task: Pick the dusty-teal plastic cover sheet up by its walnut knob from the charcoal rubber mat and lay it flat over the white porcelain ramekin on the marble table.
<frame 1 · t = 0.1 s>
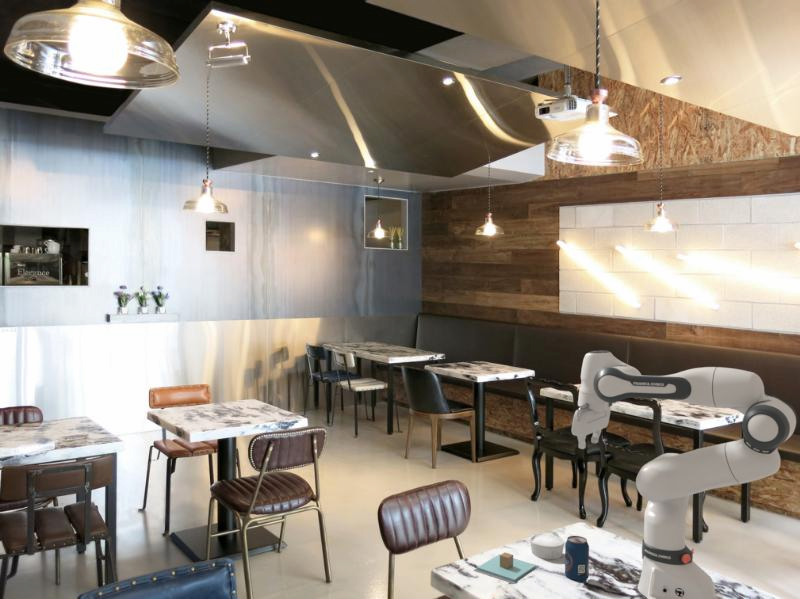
hand: (588, 445, 201), 39 cm above the table, tool pointing down, fingers open, 8 cm apart
soda can: (576, 579, 195), on the table
ramekin: (546, 556, 212), on the table
cover sheet: (506, 568, 200), point 1 cm above the table, touching mat
mat: (506, 570, 200), on the table
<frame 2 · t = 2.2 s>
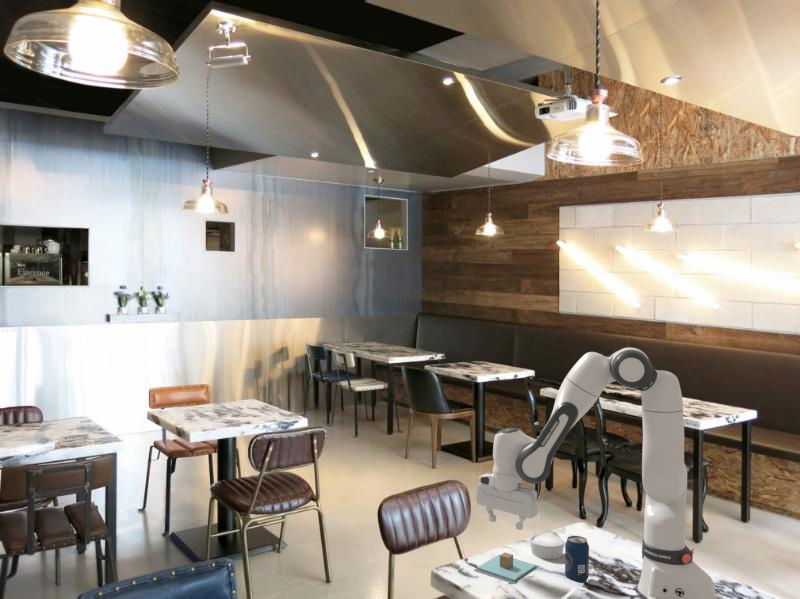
hand: (505, 525, 200), 14 cm above the table, tool pointing down, fingers open, 8 cm apart
nothing on the table moved.
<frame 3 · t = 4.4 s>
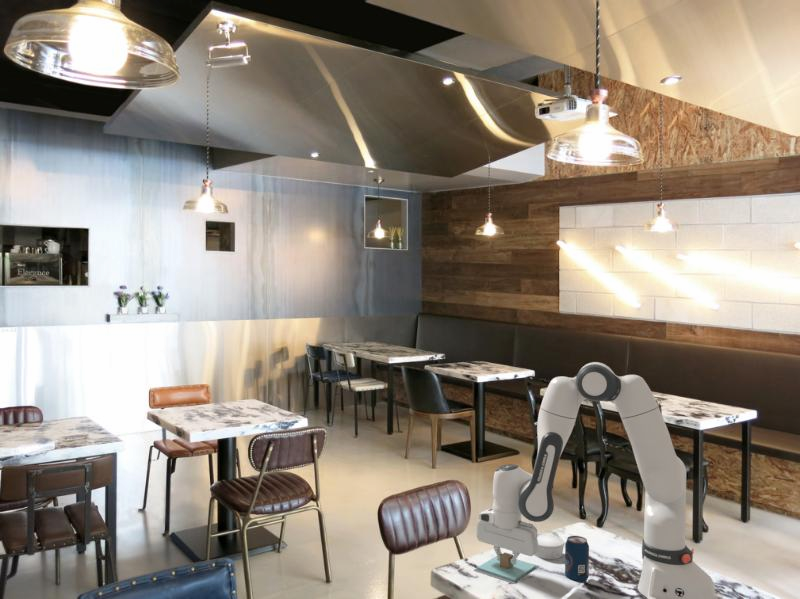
hand: (506, 562, 200), 3 cm above the table, tool pointing down, fingers closed on cover sheet, 3 cm apart
cover sheet: (506, 568, 200), point 1 cm above the table, touching gripper, mat
everything else where it was.
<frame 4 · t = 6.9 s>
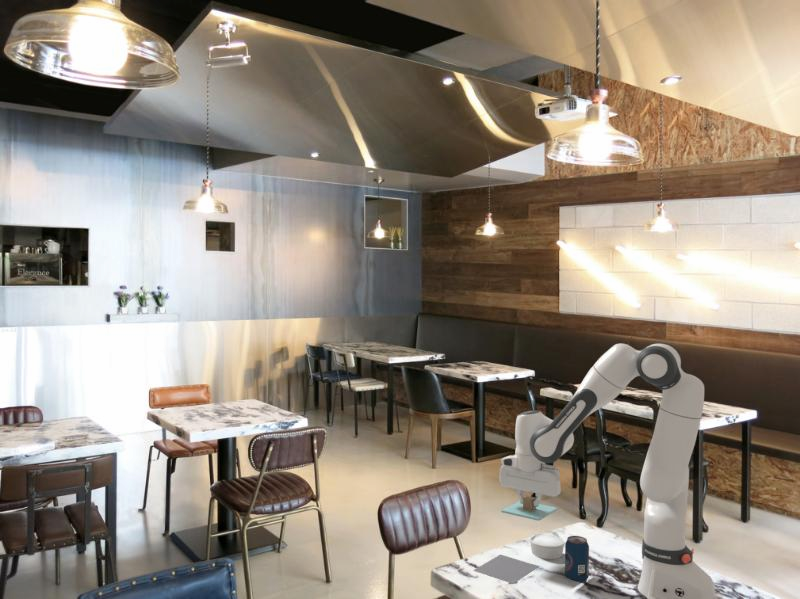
hand: (529, 504, 206), 19 cm above the table, tool pointing down, fingers closed on cover sheet, 3 cm apart
cover sheet: (529, 510, 206), point 17 cm above the table, touching gripper
everything else where it was.
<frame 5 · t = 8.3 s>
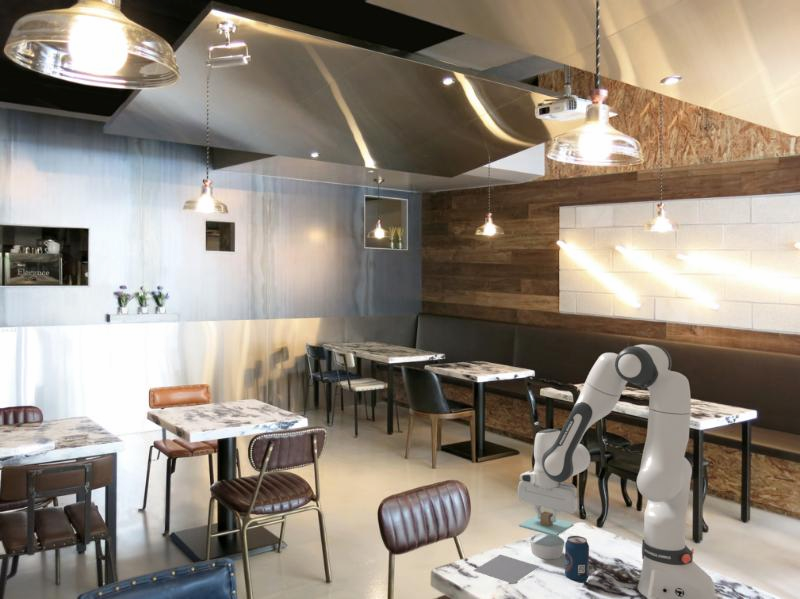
hand: (546, 520, 212), 12 cm above the table, tool pointing down, fingers closed on cover sheet, 3 cm apart
cover sheet: (546, 525, 212), point 10 cm above the table, touching gripper
everything else where it was.
when the fingers open (8 cm above the table, at t = 9.5 s): cover sheet drops 1 cm, resting on ramekin.
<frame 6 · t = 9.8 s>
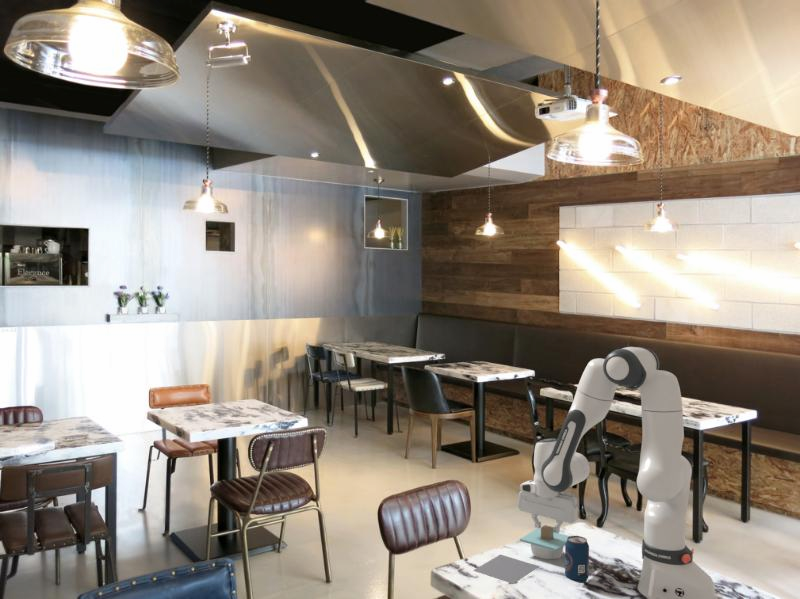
hand: (547, 529, 212), 8 cm above the table, tool pointing down, fingers open, 5 cm apart
ramekin: (546, 556, 212), on the table, touching cover sheet
cover sheet: (547, 539, 212), point 5 cm above the table, touching ramekin
everything else where it was.
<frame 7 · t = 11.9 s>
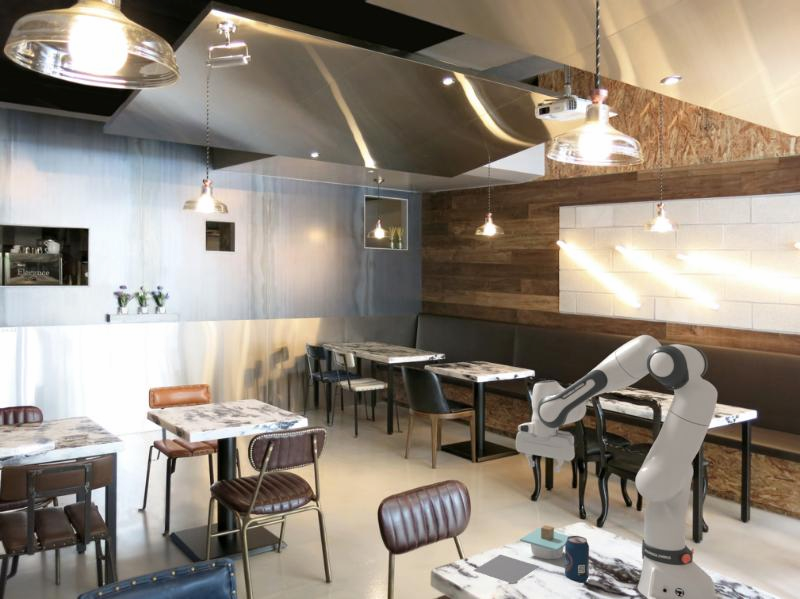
hand: (544, 469, 217), 27 cm above the table, tool pointing down, fingers open, 8 cm apart
nothing on the table moved.
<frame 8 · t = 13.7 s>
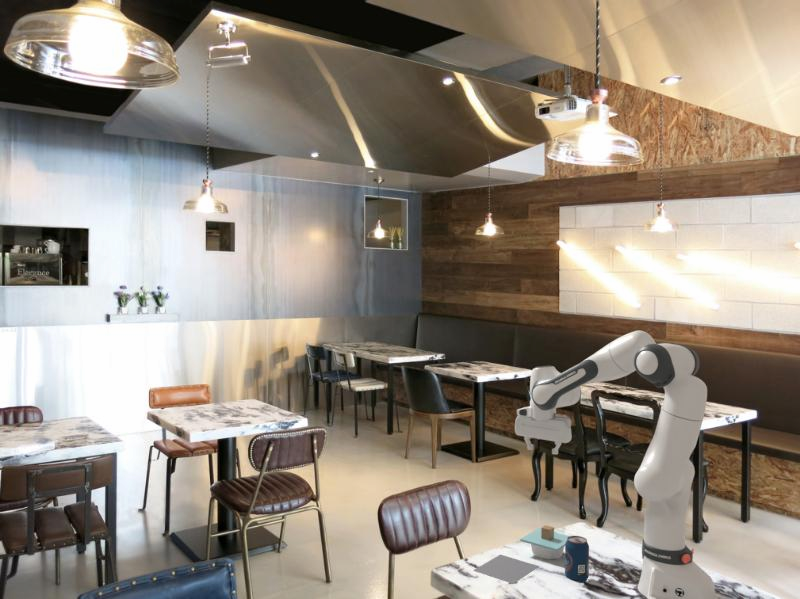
hand: (542, 451, 224), 31 cm above the table, tool pointing down, fingers open, 8 cm apart
nothing on the table moved.
at the end: cover sheet 0.1 cm off-centre on the ramekin, point 5.4 cm above the ramekin's base; cover sheet tilted 0°; the gripper is holding nothing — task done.
